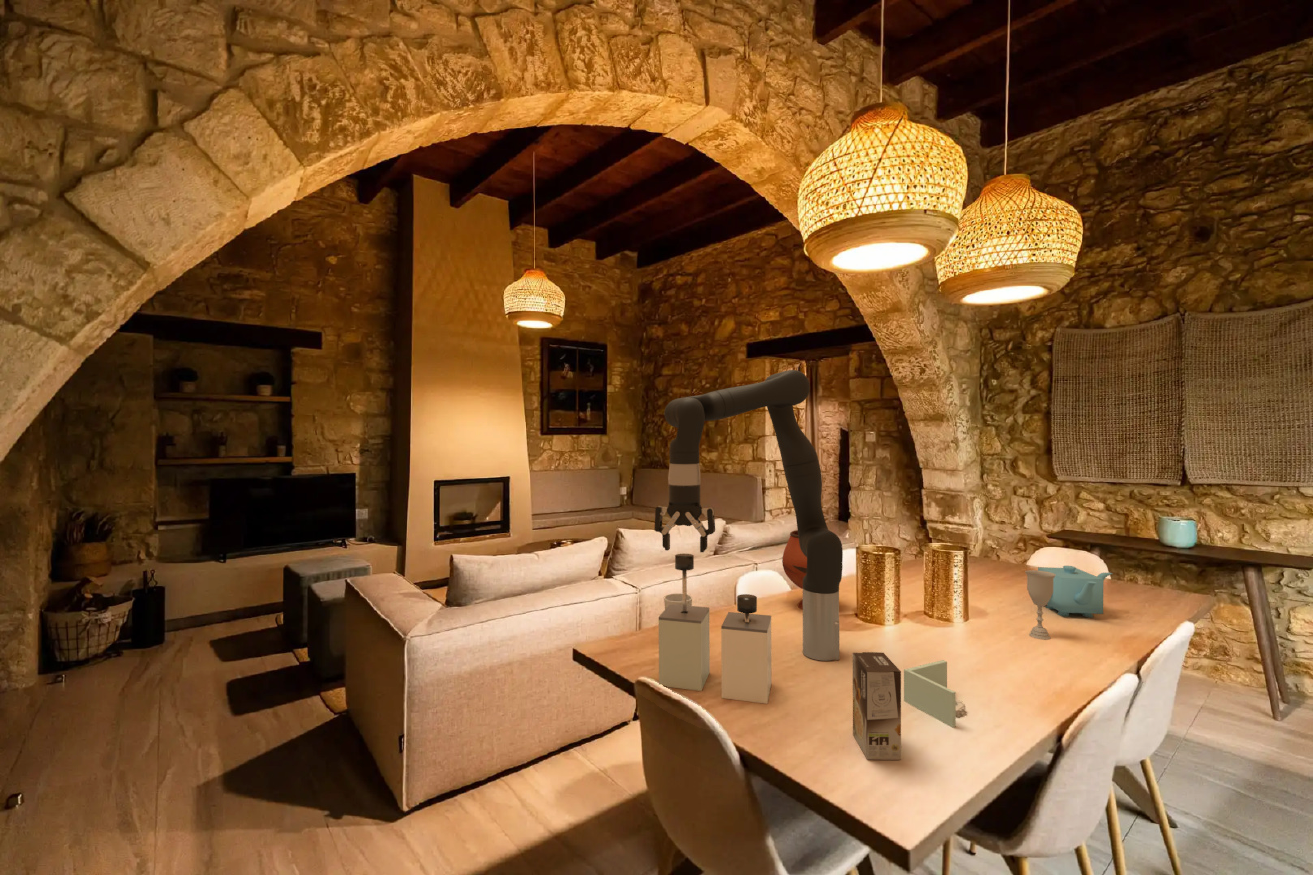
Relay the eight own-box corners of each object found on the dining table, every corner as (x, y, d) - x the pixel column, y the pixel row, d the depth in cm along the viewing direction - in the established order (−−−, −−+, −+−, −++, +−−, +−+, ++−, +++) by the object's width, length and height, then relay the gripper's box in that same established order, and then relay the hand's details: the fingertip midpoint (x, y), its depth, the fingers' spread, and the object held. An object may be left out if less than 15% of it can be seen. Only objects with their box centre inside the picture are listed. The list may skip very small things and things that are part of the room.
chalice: (1027, 638, 160) (1027, 574, 160) (1022, 630, 166) (1022, 569, 166) (1058, 642, 157) (1058, 577, 157) (1051, 633, 163) (1052, 571, 163)
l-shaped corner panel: (952, 730, 113) (952, 692, 113) (903, 703, 124) (903, 669, 124) (993, 717, 118) (993, 681, 118) (943, 692, 129) (943, 659, 129)
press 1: (709, 672, 139) (709, 607, 138) (701, 690, 129) (700, 620, 129) (669, 667, 141) (669, 604, 141) (658, 685, 132) (658, 617, 132)
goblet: (845, 602, 193) (845, 529, 193) (838, 620, 176) (838, 540, 175) (788, 596, 201) (788, 525, 200) (776, 612, 183) (776, 535, 183)
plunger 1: (704, 632, 138) (704, 552, 137) (697, 644, 130) (697, 560, 130) (672, 629, 140) (672, 551, 140) (664, 640, 132) (663, 558, 132)
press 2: (771, 683, 133) (771, 615, 132) (767, 703, 123) (767, 630, 123) (728, 678, 135) (728, 611, 135) (721, 697, 126) (721, 625, 125)
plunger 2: (766, 676, 132) (766, 593, 131) (763, 691, 124) (763, 603, 124) (732, 672, 134) (732, 590, 134) (726, 687, 126) (726, 600, 126)
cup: (681, 647, 155) (681, 603, 155) (658, 640, 160) (658, 598, 159) (697, 638, 161) (697, 596, 161) (674, 632, 166) (674, 591, 166)
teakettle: (1047, 599, 196) (1047, 557, 195) (1115, 613, 181) (1115, 567, 180) (1025, 611, 184) (1025, 565, 184) (1096, 626, 169) (1096, 577, 169)
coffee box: (902, 760, 102) (903, 671, 102) (866, 760, 102) (866, 671, 102) (883, 733, 111) (884, 651, 111) (850, 732, 111) (850, 651, 111)
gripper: (717, 481, 136) (717, 549, 136) (659, 480, 140) (660, 546, 140) (711, 484, 129) (711, 556, 129) (651, 483, 133) (651, 552, 133)
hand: (684, 550), depth 135 cm, fingers open, 8 cm apart
